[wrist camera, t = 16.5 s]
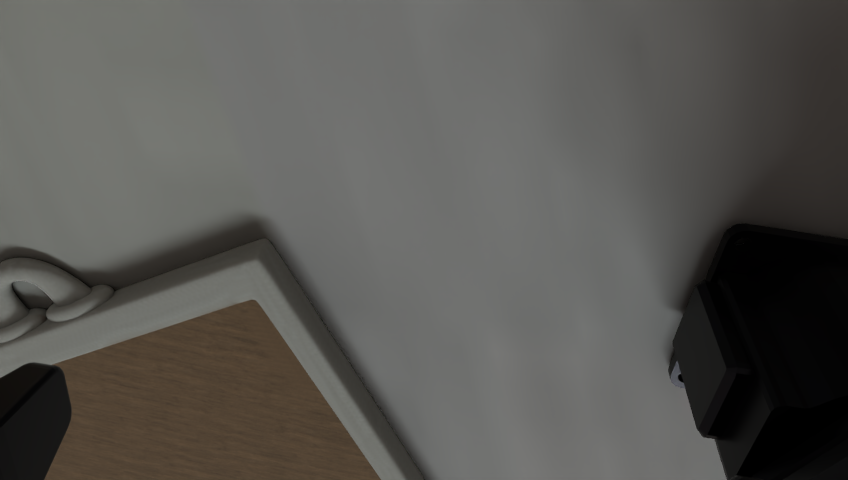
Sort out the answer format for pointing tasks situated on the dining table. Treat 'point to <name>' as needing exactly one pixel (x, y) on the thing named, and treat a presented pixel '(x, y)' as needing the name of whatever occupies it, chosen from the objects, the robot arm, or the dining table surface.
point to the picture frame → (199, 376)
